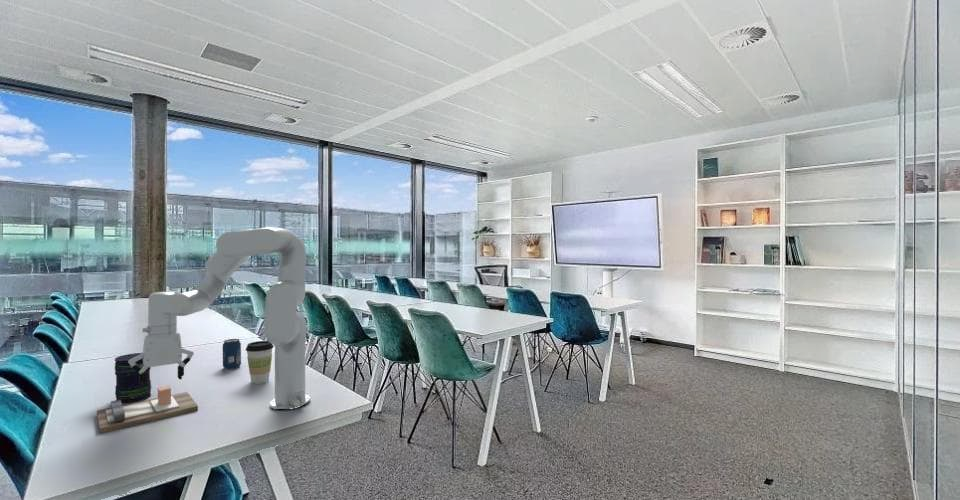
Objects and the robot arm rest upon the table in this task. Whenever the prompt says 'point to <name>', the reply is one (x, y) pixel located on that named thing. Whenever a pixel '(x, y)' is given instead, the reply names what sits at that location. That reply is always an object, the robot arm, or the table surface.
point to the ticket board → (141, 412)
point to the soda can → (231, 354)
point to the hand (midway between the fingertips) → (162, 381)
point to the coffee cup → (259, 360)
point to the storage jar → (130, 380)
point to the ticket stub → (164, 400)
